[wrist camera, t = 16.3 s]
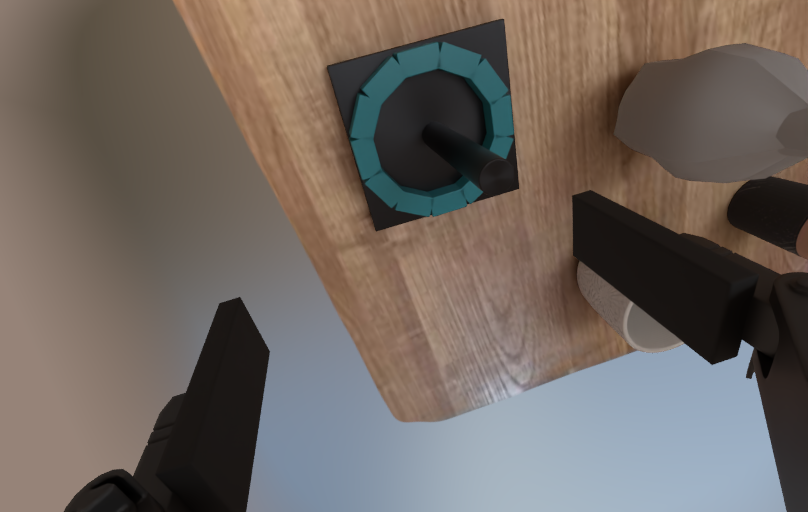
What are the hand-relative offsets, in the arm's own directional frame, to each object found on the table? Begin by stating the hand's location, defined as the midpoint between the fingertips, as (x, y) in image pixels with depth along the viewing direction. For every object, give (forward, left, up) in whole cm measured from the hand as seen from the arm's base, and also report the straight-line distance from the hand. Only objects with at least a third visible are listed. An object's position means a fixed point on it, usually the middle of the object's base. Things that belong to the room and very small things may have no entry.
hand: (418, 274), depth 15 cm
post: (+7, -1, -26) cm, 27 cm away
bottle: (+29, -4, -26) cm, 39 cm away
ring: (+7, -1, -25) cm, 25 cm away
